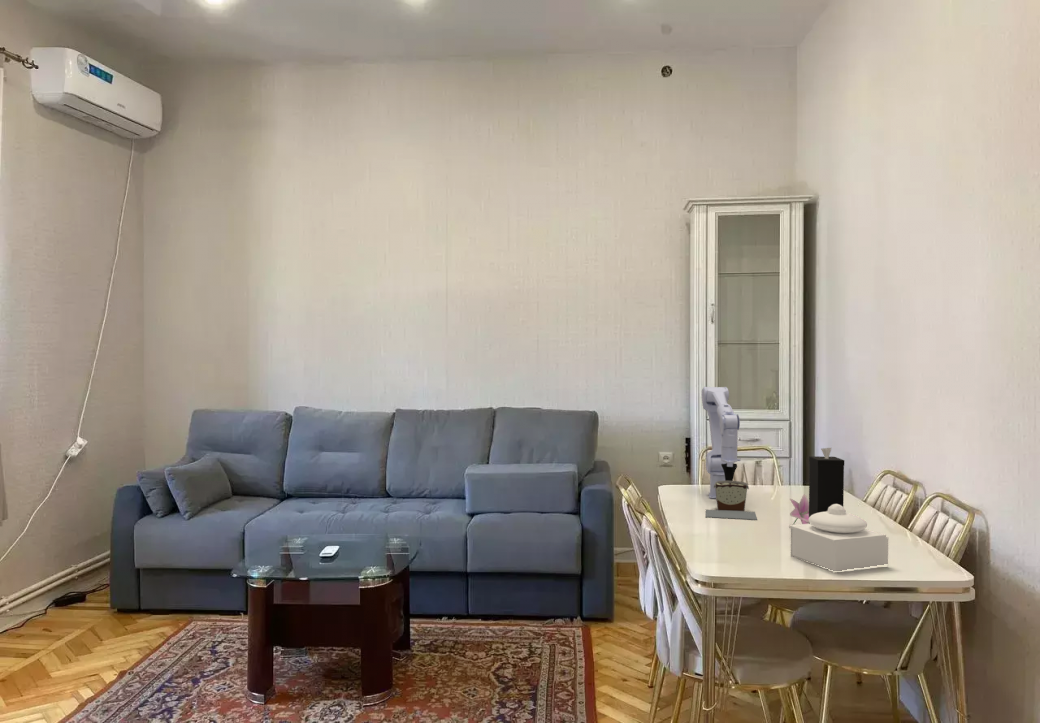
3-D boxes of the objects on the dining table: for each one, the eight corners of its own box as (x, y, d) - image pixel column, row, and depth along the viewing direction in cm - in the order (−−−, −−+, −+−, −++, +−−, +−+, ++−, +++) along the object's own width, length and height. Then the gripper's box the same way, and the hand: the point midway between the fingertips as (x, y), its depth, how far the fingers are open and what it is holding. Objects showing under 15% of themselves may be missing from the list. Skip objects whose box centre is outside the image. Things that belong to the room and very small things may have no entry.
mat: (705, 510, 277) (705, 509, 277) (754, 512, 273) (754, 511, 273) (705, 517, 266) (705, 516, 266) (757, 520, 262) (757, 519, 262)
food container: (745, 508, 282) (745, 480, 282) (748, 511, 276) (749, 483, 275) (710, 507, 283) (711, 479, 283) (713, 510, 277) (713, 482, 277)
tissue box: (808, 535, 241) (809, 445, 240) (833, 535, 240) (834, 446, 240) (817, 541, 233) (818, 449, 232) (843, 542, 233) (844, 449, 232)
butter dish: (887, 567, 206) (888, 508, 206) (833, 574, 200) (834, 513, 200) (840, 551, 223) (841, 496, 223) (788, 556, 217) (789, 500, 217)
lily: (783, 532, 249) (796, 509, 245) (774, 511, 260) (787, 488, 256) (817, 543, 250) (831, 520, 246) (807, 522, 260) (820, 499, 257)
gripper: (741, 449, 279) (741, 487, 279) (739, 444, 293) (739, 480, 293) (721, 449, 281) (721, 486, 281) (720, 444, 295) (720, 479, 295)
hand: (728, 483), depth 287 cm, fingers closed
